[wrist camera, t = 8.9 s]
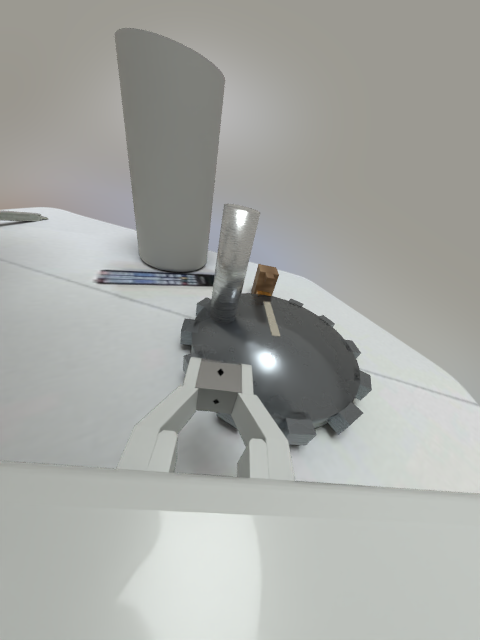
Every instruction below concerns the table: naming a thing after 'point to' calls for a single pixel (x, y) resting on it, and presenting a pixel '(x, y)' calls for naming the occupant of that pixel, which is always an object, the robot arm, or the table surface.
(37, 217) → the caliper
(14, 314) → the table surface
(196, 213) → the cylinder vase
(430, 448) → the table surface
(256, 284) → the brown wooden block
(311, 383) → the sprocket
